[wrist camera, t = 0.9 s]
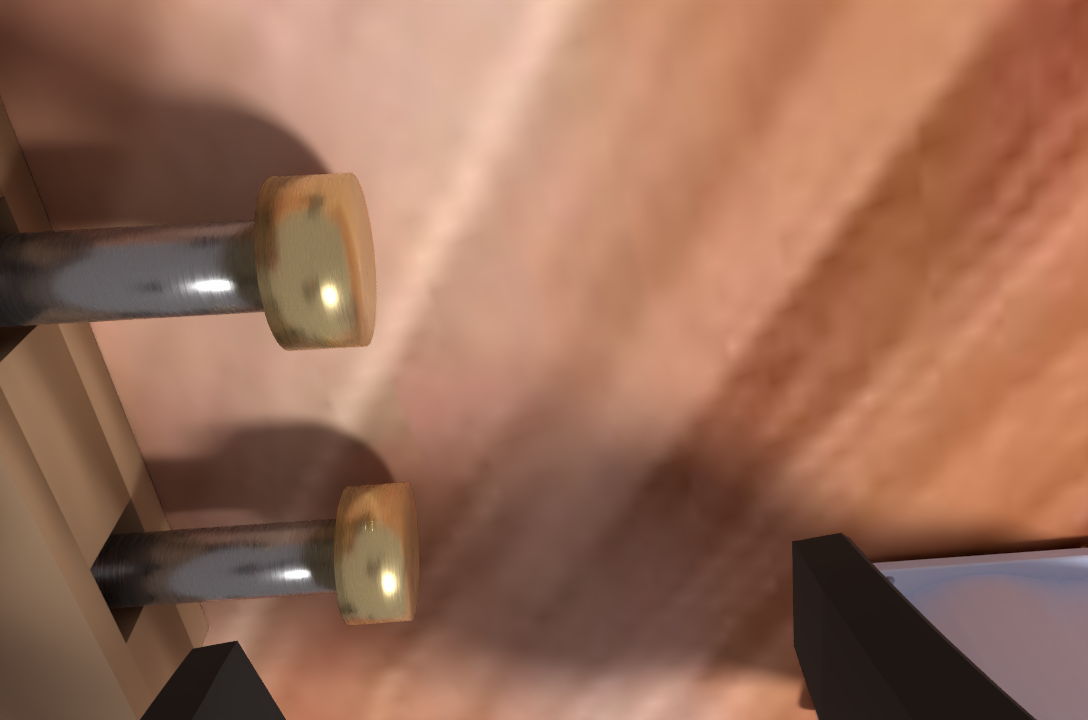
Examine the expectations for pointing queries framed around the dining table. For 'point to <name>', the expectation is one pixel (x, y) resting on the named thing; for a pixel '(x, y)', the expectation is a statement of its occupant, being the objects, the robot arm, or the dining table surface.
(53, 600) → the wooden board with knobs
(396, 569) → the far plunger
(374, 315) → the near plunger
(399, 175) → the dining table surface
